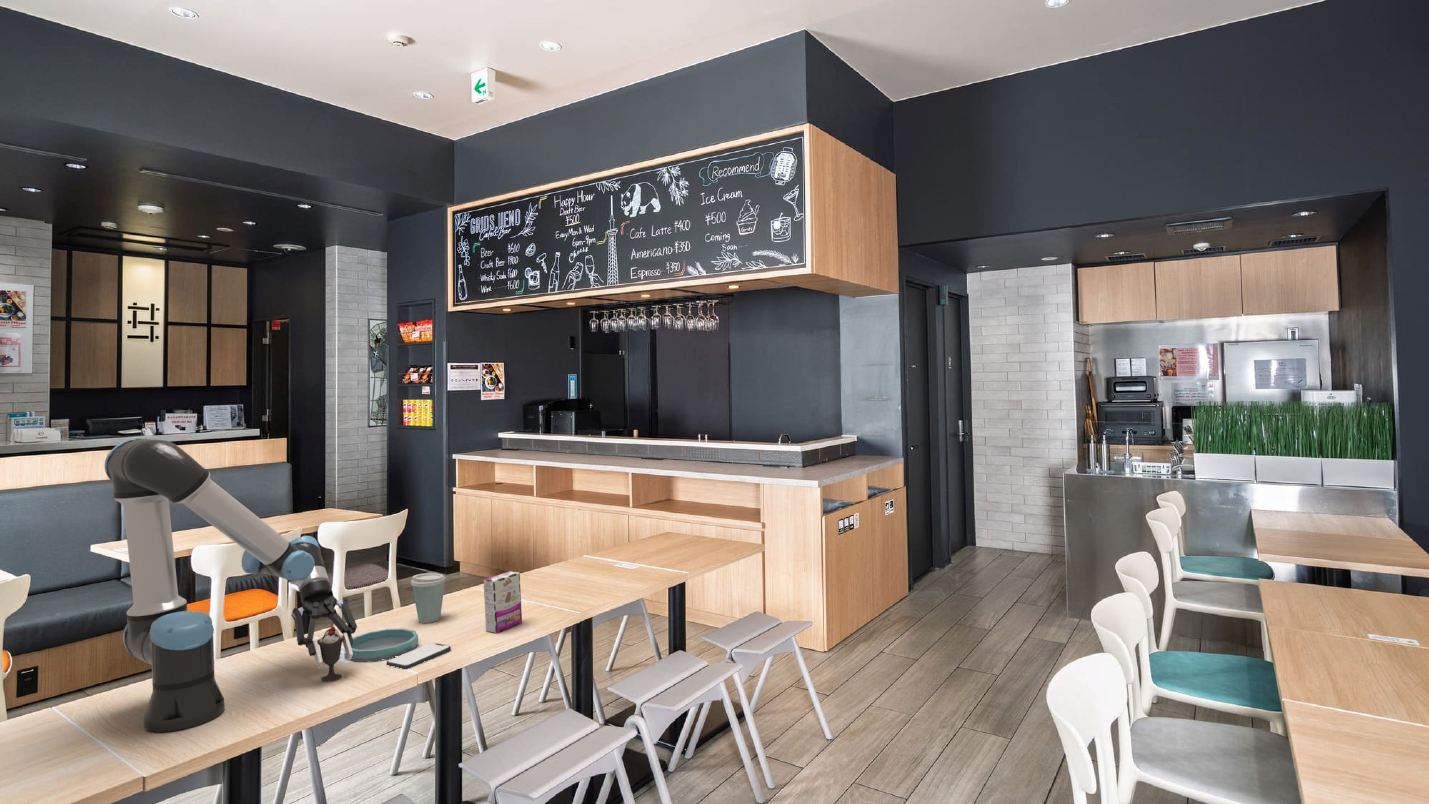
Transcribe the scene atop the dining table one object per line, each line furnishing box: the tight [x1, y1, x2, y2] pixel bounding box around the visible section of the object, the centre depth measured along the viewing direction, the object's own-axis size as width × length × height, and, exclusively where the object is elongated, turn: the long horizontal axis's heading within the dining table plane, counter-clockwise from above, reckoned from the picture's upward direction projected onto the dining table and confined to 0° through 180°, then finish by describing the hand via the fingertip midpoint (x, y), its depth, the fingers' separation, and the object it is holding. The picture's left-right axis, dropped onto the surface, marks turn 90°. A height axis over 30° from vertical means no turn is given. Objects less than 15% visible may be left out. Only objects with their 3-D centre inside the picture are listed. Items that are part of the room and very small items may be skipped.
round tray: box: [344, 628, 419, 662], centre depth 212 cm, size 19×19×3 cm
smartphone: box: [386, 642, 452, 670], centre depth 205 cm, size 9×2×16 cm
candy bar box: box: [483, 570, 523, 634], centre depth 229 cm, size 11×5×16 cm, turn 150°
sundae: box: [316, 622, 345, 683], centre depth 191 cm, size 7×7×15 cm
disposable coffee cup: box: [410, 572, 446, 624], centre depth 238 cm, size 11×11×15 cm
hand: (335, 660), depth 188 cm, fingers closed on sundae, 7 cm apart
